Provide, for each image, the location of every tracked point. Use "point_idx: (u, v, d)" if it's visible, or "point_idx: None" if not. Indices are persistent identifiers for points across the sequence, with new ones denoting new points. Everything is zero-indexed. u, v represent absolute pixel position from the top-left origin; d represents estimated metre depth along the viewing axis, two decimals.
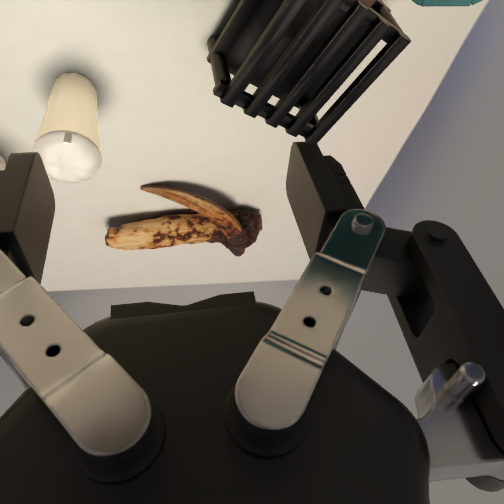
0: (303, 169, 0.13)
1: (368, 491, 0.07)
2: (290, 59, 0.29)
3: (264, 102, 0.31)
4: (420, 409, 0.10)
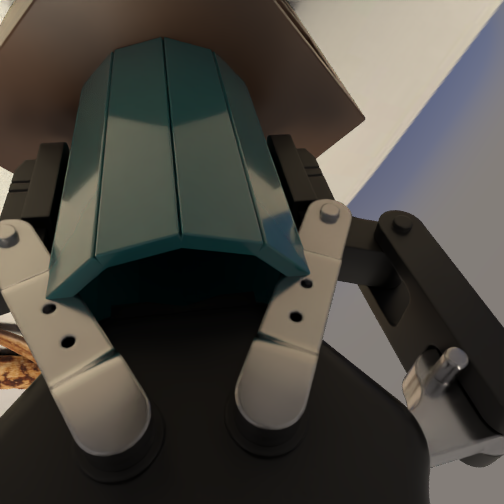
0: (276, 161, 0.14)
1: (377, 493, 0.07)
2: None
3: None
4: (409, 398, 0.10)
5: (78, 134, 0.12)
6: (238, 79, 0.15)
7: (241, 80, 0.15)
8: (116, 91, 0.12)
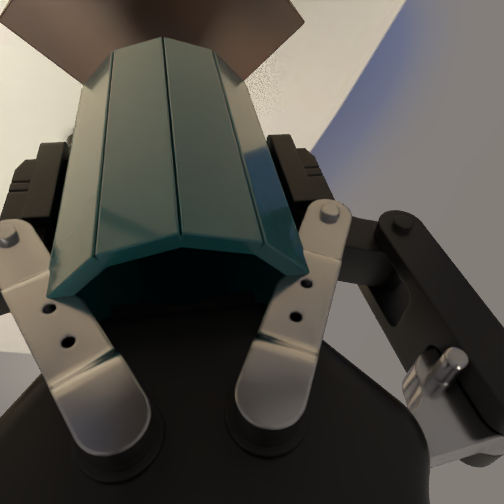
0: (276, 161, 0.14)
1: (377, 493, 0.07)
2: None
3: None
4: (409, 398, 0.10)
5: (78, 134, 0.12)
6: (238, 79, 0.15)
7: (241, 80, 0.15)
8: (116, 91, 0.12)
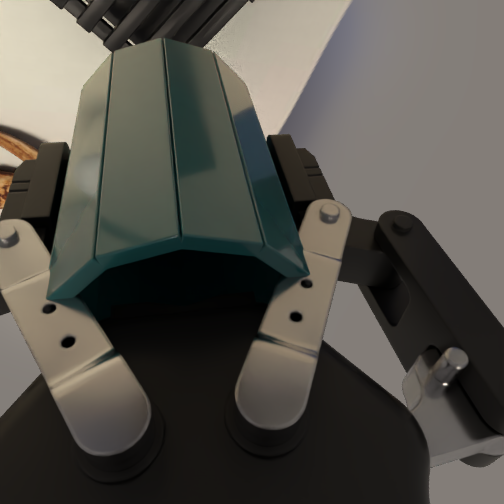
0: (276, 161, 0.14)
1: (377, 493, 0.07)
2: None
3: (100, 14, 0.28)
4: (408, 398, 0.10)
5: (78, 135, 0.12)
6: (238, 80, 0.15)
7: (241, 81, 0.15)
8: (116, 92, 0.12)
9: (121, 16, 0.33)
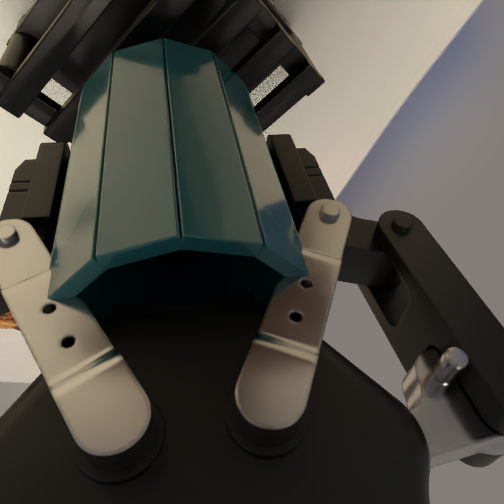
0: (276, 161, 0.14)
1: (377, 493, 0.07)
2: None
3: None
4: (409, 398, 0.10)
5: (78, 135, 0.12)
6: (238, 80, 0.15)
7: (241, 81, 0.15)
8: (116, 92, 0.12)
9: None
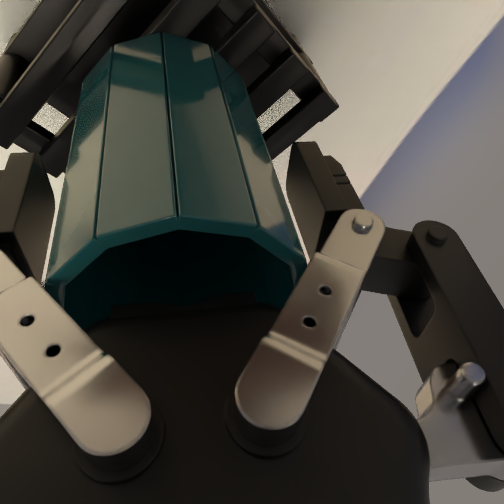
0: (303, 169, 0.13)
1: (368, 491, 0.07)
2: None
3: None
4: (420, 409, 0.10)
5: (79, 125, 0.13)
6: (235, 73, 0.15)
7: (238, 75, 0.15)
8: (116, 83, 0.12)
9: None
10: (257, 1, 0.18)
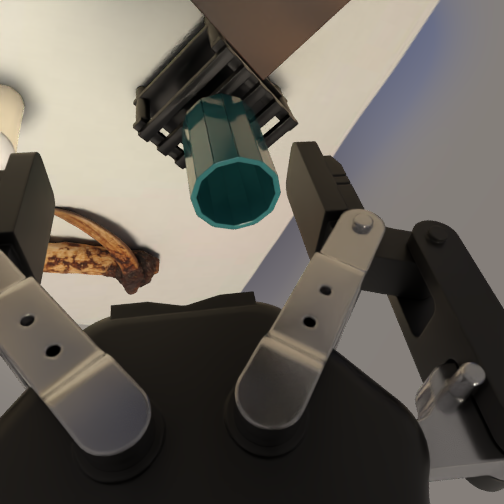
0: (303, 169, 0.13)
1: (368, 491, 0.07)
2: None
3: (176, 144, 0.37)
4: (420, 409, 0.09)
5: (192, 131, 0.33)
6: (250, 109, 0.35)
7: (251, 110, 0.36)
8: (207, 115, 0.32)
9: None
10: None
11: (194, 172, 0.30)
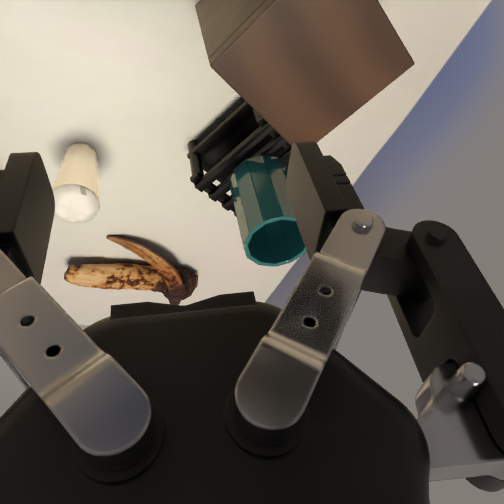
0: (303, 169, 0.13)
1: (368, 491, 0.07)
2: None
3: (224, 192, 0.45)
4: (420, 409, 0.09)
5: (241, 188, 0.41)
6: (286, 166, 0.44)
7: (286, 166, 0.44)
8: (253, 176, 0.41)
9: (226, 178, 0.50)
10: None
11: (246, 226, 0.38)
